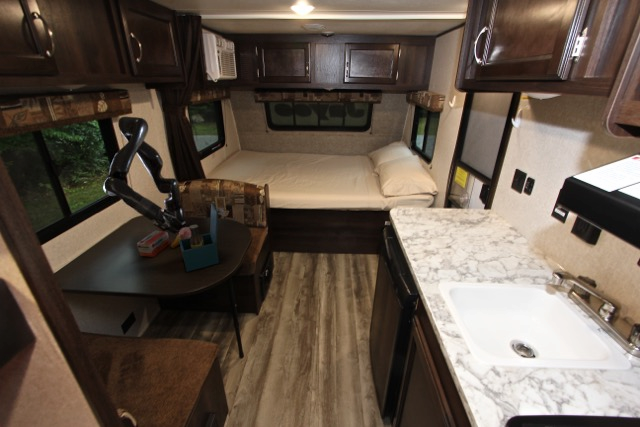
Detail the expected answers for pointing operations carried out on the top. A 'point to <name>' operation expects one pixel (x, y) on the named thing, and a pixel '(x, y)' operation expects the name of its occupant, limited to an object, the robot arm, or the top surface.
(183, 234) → the ice cream
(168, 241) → the medicine box
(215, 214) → the cool box lid
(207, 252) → the cool box
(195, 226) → the sauce bottle
